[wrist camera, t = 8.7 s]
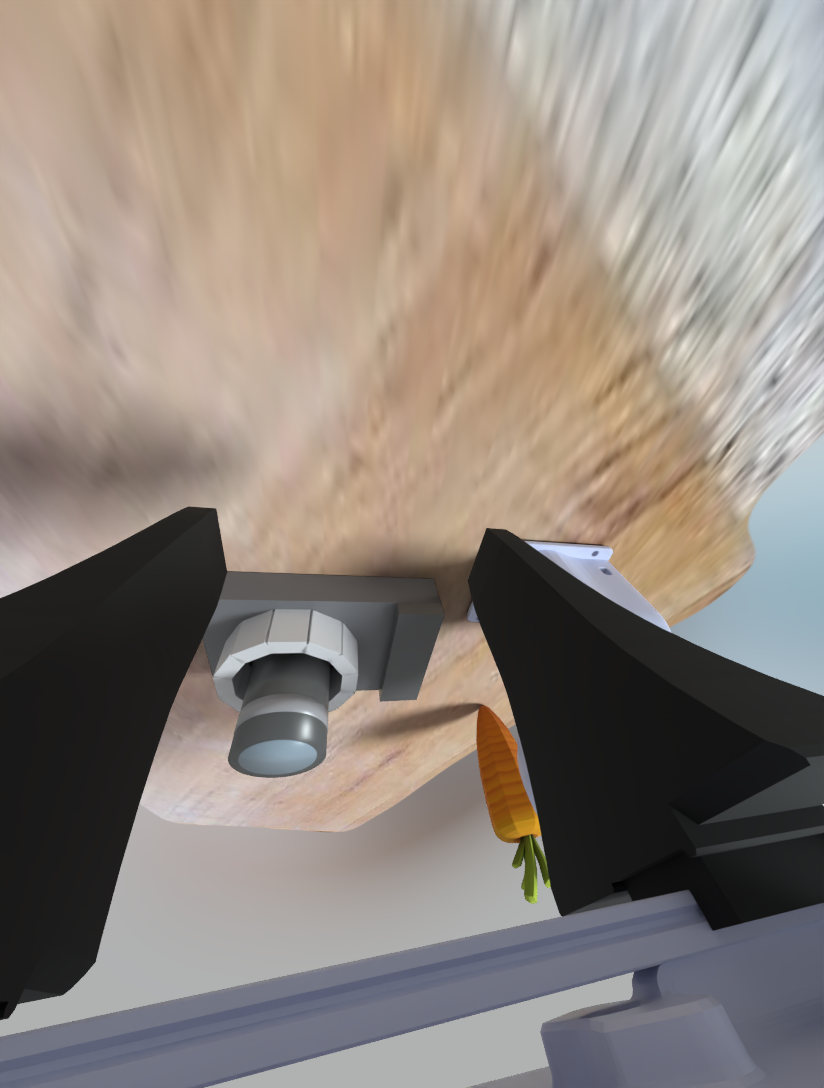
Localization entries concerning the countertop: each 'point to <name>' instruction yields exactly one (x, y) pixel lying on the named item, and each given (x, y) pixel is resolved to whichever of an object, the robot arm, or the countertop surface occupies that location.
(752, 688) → the robot arm
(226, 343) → the countertop surface
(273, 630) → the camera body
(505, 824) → the carrot
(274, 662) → the lens
